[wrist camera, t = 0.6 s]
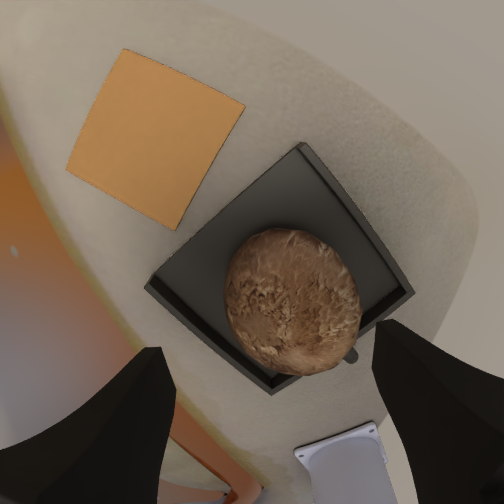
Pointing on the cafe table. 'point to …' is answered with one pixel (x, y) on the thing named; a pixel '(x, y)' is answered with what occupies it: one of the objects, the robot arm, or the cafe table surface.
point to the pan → (262, 219)
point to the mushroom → (291, 302)
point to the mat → (152, 137)
